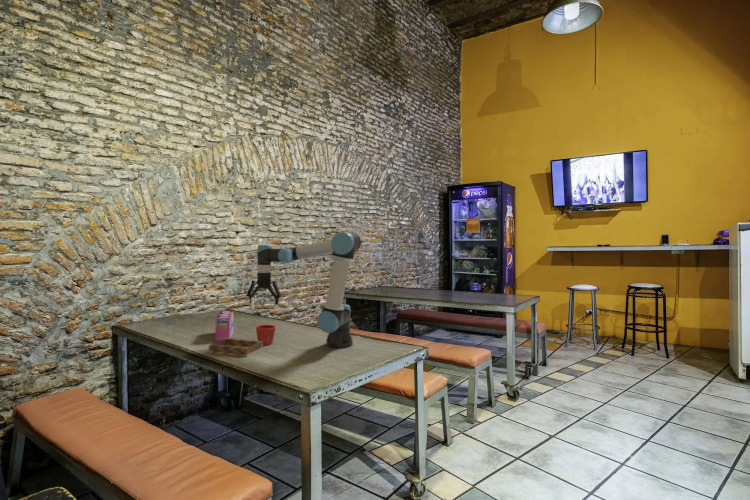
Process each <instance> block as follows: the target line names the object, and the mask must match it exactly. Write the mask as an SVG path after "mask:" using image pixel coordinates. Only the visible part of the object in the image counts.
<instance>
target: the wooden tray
mask: <svg viewBox="0 0 750 500" xmlns="http://www.w3.org/2000/svg"><path fill="white" fill-rule="evenodd" d="M263 349H264V345H263V341H258V340H254V339H253V340H252V339H241V338H232V337H231V338H226V339H223V340H221V341H215V342H214V343H210V344H209V345H208V353H209V354H216V355H217V354H218V355H225V356H237V357H246V358H247V357H249V356H252V355H253V354H255V353H257V352H259V351H261V350H263Z"/></svg>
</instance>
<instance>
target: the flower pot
mask: <svg viewBox="0 0 750 500" xmlns="http://www.w3.org/2000/svg"><path fill="white" fill-rule="evenodd" d="M276 328H277V327H276V326H275V325H273V324H261V325H256V326H255V330H256V339H257V341H263V346H269V345H272V344H273V342H274V337H275V334H276Z"/></svg>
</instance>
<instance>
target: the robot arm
mask: <svg viewBox="0 0 750 500" xmlns="http://www.w3.org/2000/svg"><path fill="white" fill-rule="evenodd" d="M361 246H362V240H361V237H360V235H358V234H357V233H356V232H354V231H340V232H337V233H335V234H334V235H333V237H332V238H331V239H329V240H324V241H320V242H319V241H318V242H316V243H315V242H314V243H309V244H305V245H300V246H294V247H289V248H288V247H287V248H272V245H271V244H258V246H257V249H256V250H257V251H256V253H257V254H256V255H257V256H256V257H257V258H256V259H257V261H256V262H257V263H256V265H257V267H256V269H257V270H256V271H257V273H256V278H257V280H256V279H253V280H251V285H250V286H249V288H248V290H247V293H246V294H245V295H246V297H248V298H249V304H250V310H251V311H253V310H254V309H255V295H256V294H257V293H258V291H259V290H260V289H261V290H262V289H263V290H268V291H269V292H270V294H271V295H272V296H273V298H274V299H273V311H274V312H275V311H277V310H278V305H279V298H282V297H283V296H282V293H281V291H280V289H279V287H278V283H277V280H273V281H272V280H271V278H272V263H282V264H283V263H289V262H296V261H298V260H302V259H303V260H304V259H309V258H315V257H320V256H325V255H330V254H331V257H332V258H333V263H332V268H331V273H330V280H329V286H328V290H327V295H326V301H325V303H323V304H322V307H321V312H320V313H319V314H318V316H317V318H316V323H317V326H318V328H319V329H320V330H321V331H322V332H324V333H328V334H327V338H326V341H325V344H326V346H327V347H330V348H336V349H337V348H338V349H339V348H340V349H341V348H350V347H352V346H353V345H354V341H353V337H352V333H351V313H352V310H351V305H350V304H343V300H344V296H345V292H346V291H345V290H346V287H347V286H346V285H347V279H348V275H349V270H350V263H351V261H352V260H354V257H355V253H357V252H358V251H359V249H360V248H361ZM271 285H272V286H273V287H272V286H271ZM255 286H256V287H255Z"/></svg>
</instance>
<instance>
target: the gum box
mask: <svg viewBox="0 0 750 500" xmlns="http://www.w3.org/2000/svg"><path fill="white" fill-rule="evenodd" d="M214 331H215V332H214V334H215V335H214V336H215V338H214V339H215V340H214V341H215V342H218V341H221V340H223V339H226V338H232V335H233V334H234V310H230V311H224V310H221V311H219V313H218V314H217V316H216V317H215V330H214Z"/></svg>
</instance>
